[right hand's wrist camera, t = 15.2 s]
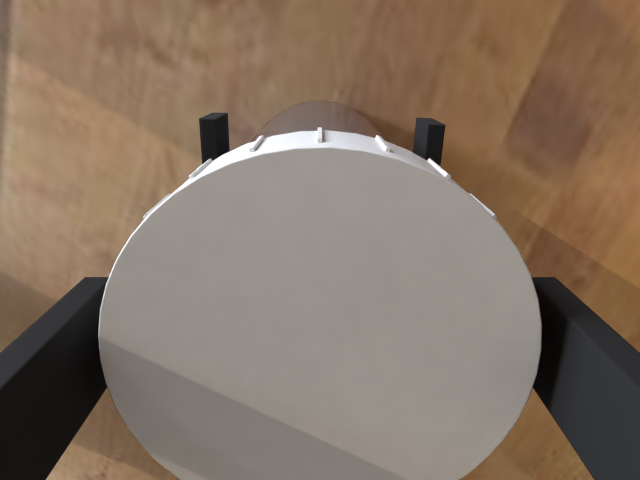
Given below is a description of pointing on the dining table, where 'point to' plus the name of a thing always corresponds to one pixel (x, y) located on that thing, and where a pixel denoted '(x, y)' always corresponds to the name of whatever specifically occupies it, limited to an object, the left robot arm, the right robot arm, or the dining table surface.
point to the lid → (320, 318)
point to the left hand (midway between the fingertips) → (322, 118)
